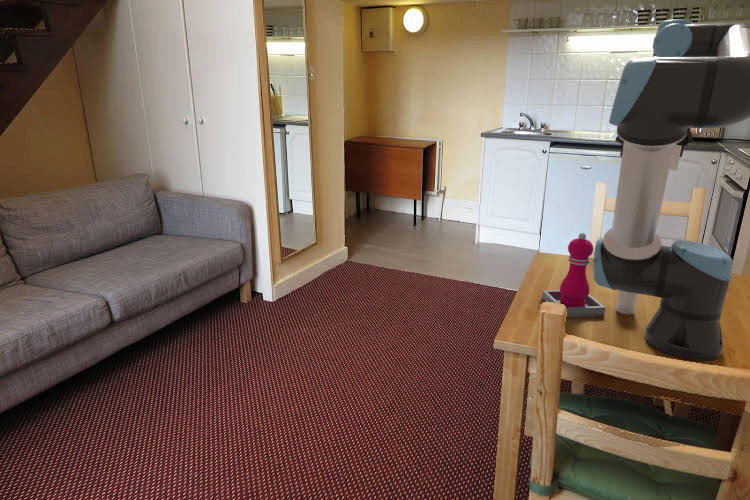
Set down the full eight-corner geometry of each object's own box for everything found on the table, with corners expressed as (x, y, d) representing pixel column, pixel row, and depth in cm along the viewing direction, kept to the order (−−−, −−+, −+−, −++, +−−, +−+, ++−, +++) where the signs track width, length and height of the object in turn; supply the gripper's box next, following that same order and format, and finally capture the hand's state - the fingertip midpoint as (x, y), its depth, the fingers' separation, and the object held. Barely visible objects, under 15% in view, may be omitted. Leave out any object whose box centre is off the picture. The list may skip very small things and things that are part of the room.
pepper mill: (582, 313, 127) (593, 238, 121) (554, 306, 131) (563, 233, 125) (590, 304, 133) (601, 232, 126) (562, 297, 137) (572, 227, 131)
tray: (604, 316, 127) (605, 307, 126) (560, 317, 126) (561, 308, 125) (582, 297, 138) (583, 289, 137) (541, 299, 137) (542, 290, 136)
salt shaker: (637, 314, 129) (644, 277, 126) (621, 314, 128) (627, 278, 125) (627, 306, 133) (634, 271, 130) (611, 307, 132) (618, 272, 129)
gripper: (699, 87, 132) (682, 167, 138) (609, 86, 129) (597, 167, 136) (720, 87, 125) (701, 171, 131) (626, 86, 122) (612, 172, 129)
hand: (648, 169), depth 134 cm, fingers open, 13 cm apart
